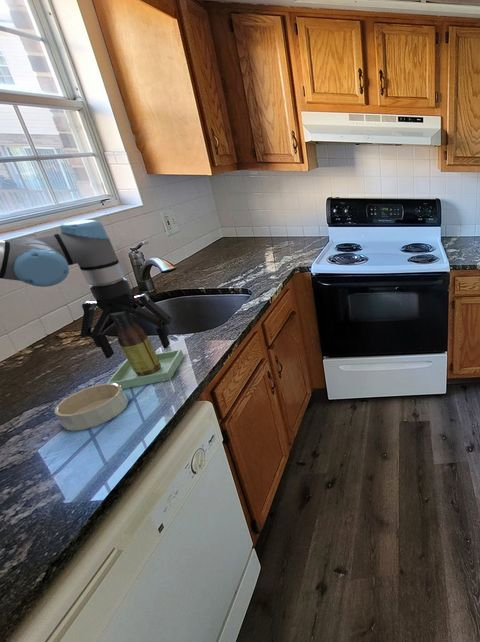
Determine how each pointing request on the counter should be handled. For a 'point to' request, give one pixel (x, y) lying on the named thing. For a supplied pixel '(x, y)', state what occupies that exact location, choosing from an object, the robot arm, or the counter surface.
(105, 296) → the robot arm
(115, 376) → the tray
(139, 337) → the sauce bottle
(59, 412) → the bowl
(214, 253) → the counter surface
